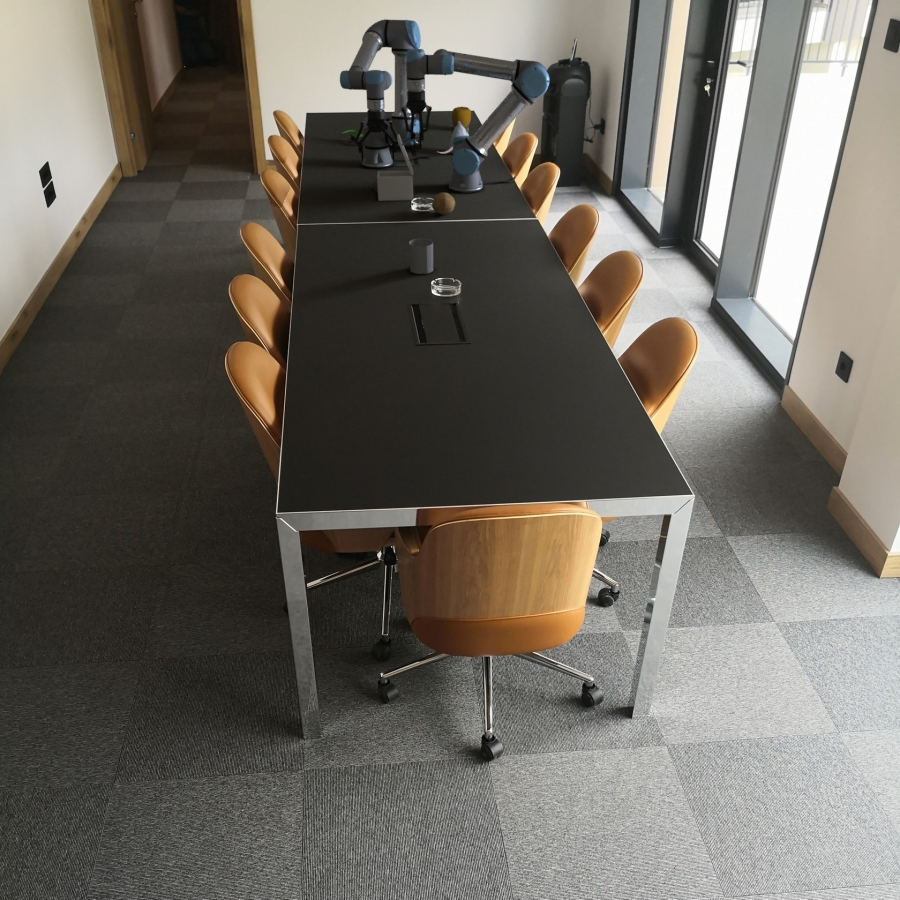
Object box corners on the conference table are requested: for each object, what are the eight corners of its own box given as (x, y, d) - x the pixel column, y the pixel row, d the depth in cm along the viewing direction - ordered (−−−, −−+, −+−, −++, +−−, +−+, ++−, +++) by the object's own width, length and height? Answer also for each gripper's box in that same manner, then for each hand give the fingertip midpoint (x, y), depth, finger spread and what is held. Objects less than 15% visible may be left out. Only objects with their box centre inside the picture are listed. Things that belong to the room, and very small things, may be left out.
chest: (378, 200, 378) (377, 177, 373) (378, 194, 386) (377, 170, 381) (413, 200, 379) (412, 176, 373) (412, 193, 387) (411, 170, 382)
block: (376, 191, 390) (376, 182, 387) (373, 189, 393) (373, 180, 390) (385, 190, 391) (384, 181, 389) (382, 188, 394) (381, 179, 392)
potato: (453, 208, 369) (453, 189, 365) (456, 218, 357) (456, 199, 353) (431, 208, 368) (430, 189, 364) (432, 218, 356) (432, 199, 352)
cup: (409, 265, 311) (408, 238, 306) (432, 265, 312) (431, 238, 307) (410, 274, 304) (409, 246, 299) (433, 273, 305) (433, 246, 299)
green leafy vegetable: (396, 126, 467) (340, 124, 465) (396, 141, 460) (339, 139, 458) (396, 136, 472) (341, 134, 470) (396, 151, 465) (340, 149, 463)
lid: (397, 140, 365) (417, 132, 364) (396, 135, 373) (416, 126, 372) (411, 175, 373) (431, 167, 372) (410, 169, 381) (429, 161, 380)
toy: (474, 152, 449) (475, 122, 441) (443, 160, 434) (443, 129, 426) (462, 149, 454) (462, 119, 446) (430, 157, 439) (430, 126, 431)
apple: (471, 132, 486) (471, 108, 479) (451, 132, 486) (451, 108, 479) (470, 128, 495) (471, 104, 488) (452, 128, 495) (452, 104, 488)
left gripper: (346, 111, 369) (349, 162, 381) (405, 110, 371) (406, 161, 382) (347, 108, 376) (350, 158, 387) (404, 107, 377) (405, 157, 388)
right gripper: (398, 92, 356) (400, 150, 368) (434, 91, 357) (435, 150, 369) (397, 88, 362) (399, 146, 375) (433, 88, 363) (434, 146, 376)
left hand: (377, 160), depth 385 cm, fingers open, 13 cm apart
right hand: (417, 148), depth 372 cm, fingers closed on lid, 2 cm apart
